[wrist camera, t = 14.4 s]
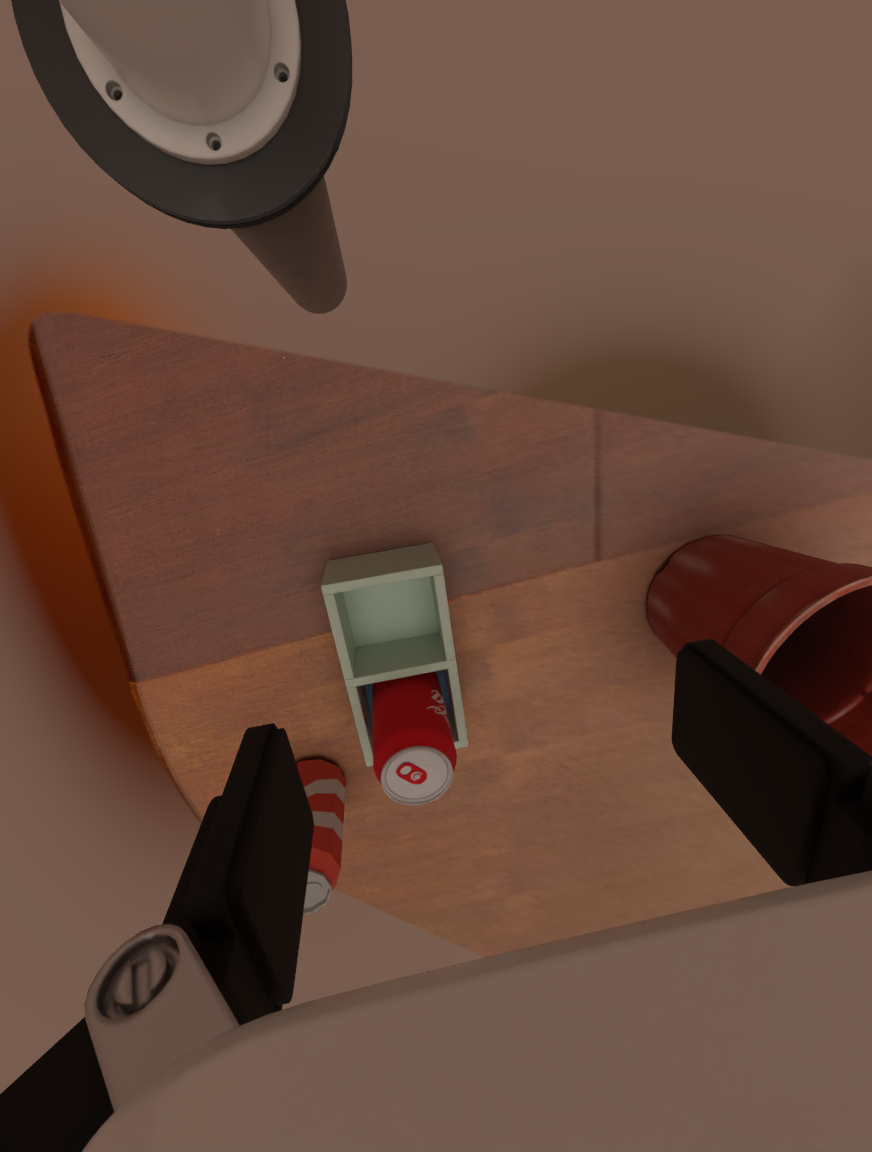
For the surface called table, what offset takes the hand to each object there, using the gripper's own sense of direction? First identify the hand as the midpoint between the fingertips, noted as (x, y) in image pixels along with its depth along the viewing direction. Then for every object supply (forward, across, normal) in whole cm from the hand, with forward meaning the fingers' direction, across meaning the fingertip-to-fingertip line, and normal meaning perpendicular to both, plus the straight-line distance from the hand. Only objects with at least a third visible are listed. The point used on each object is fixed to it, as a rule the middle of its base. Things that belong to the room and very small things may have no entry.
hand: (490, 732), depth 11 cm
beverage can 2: (+30, +3, +18) cm, 35 cm away
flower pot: (+31, -27, +15) cm, 43 cm away
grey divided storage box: (+30, +3, +14) cm, 34 cm away
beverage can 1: (+31, +14, +28) cm, 44 cm away
